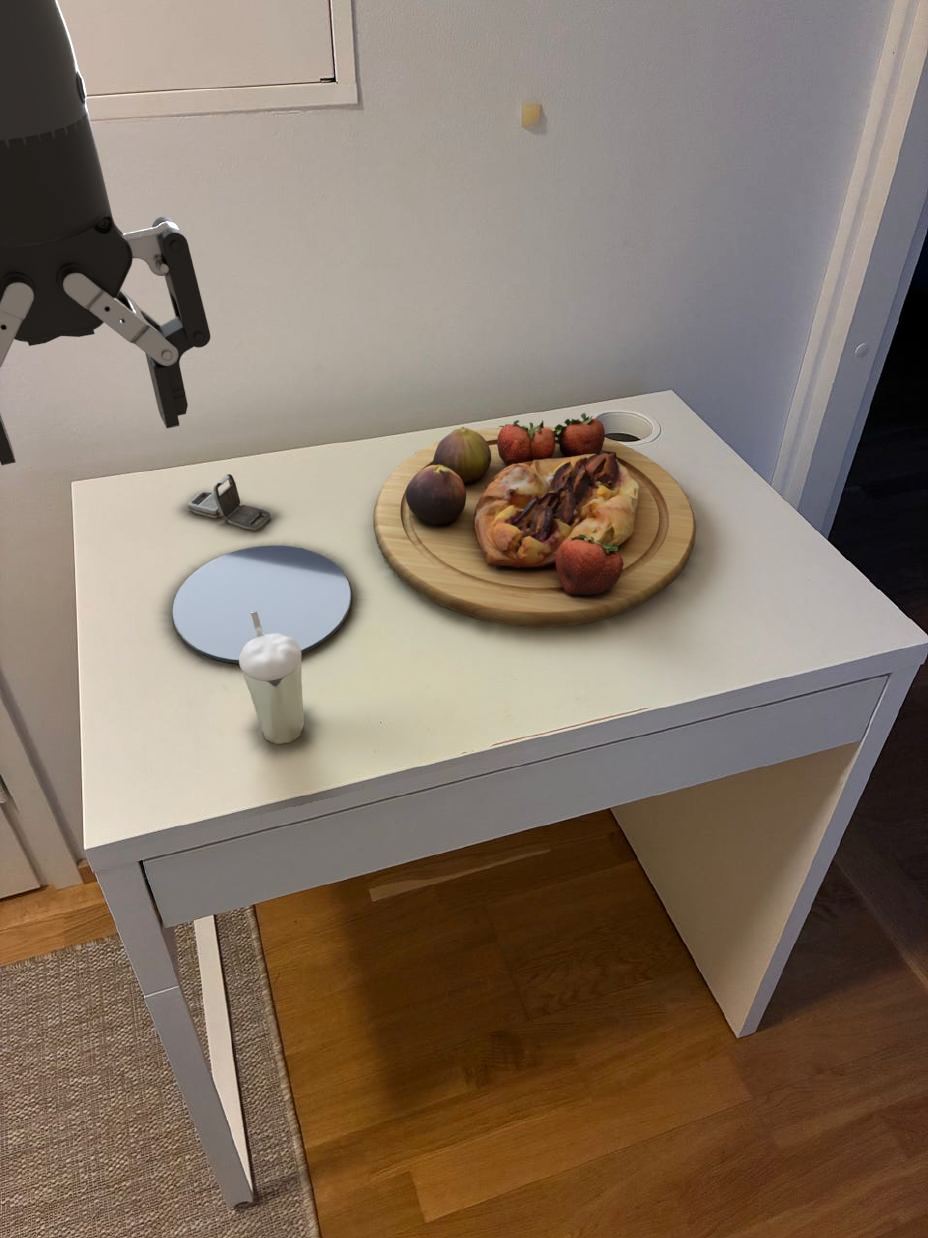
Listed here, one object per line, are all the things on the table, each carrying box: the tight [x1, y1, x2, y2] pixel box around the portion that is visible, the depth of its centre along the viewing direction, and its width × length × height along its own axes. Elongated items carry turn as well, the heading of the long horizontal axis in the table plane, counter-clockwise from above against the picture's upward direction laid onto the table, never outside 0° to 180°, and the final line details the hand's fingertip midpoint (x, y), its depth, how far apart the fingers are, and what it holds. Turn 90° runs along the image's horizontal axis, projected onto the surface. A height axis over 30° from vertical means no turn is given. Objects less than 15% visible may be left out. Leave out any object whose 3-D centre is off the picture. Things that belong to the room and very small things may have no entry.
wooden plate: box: [372, 412, 697, 627], centre depth 94 cm, size 32×32×8 cm
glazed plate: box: [171, 545, 352, 664], centre depth 87 cm, size 16×16×1 cm
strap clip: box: [187, 473, 271, 530], centre depth 96 cm, size 8×3×4 cm, turn 65°
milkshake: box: [238, 611, 305, 745], centre depth 73 cm, size 4×5×10 cm
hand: (90, 438), depth 52 cm, fingers open, 8 cm apart
